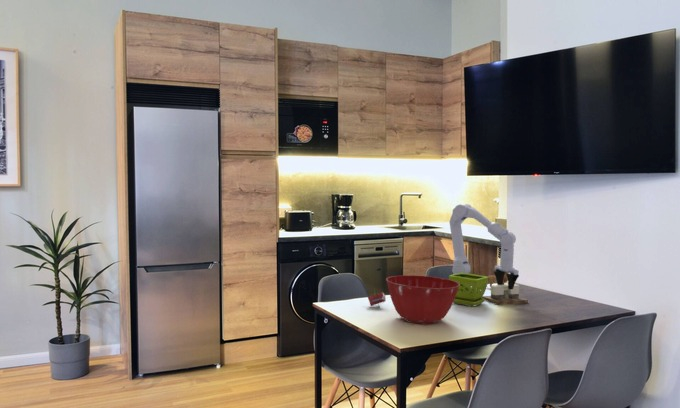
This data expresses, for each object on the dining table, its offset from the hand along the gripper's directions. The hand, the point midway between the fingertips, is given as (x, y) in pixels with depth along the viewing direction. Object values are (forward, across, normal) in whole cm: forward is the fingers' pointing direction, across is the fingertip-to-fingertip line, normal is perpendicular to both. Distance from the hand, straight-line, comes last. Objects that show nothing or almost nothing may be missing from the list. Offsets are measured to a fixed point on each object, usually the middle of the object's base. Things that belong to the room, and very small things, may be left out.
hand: (505, 287), depth 258 cm
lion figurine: (+7, +28, -18) cm, 34 cm away
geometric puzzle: (+7, +4, +65) cm, 65 cm away
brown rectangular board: (+6, 0, 0) cm, 6 cm away
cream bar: (+3, 0, 0) cm, 3 cm away
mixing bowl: (+7, -21, +58) cm, 62 cm away
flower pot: (+7, 0, +21) cm, 22 cm away
